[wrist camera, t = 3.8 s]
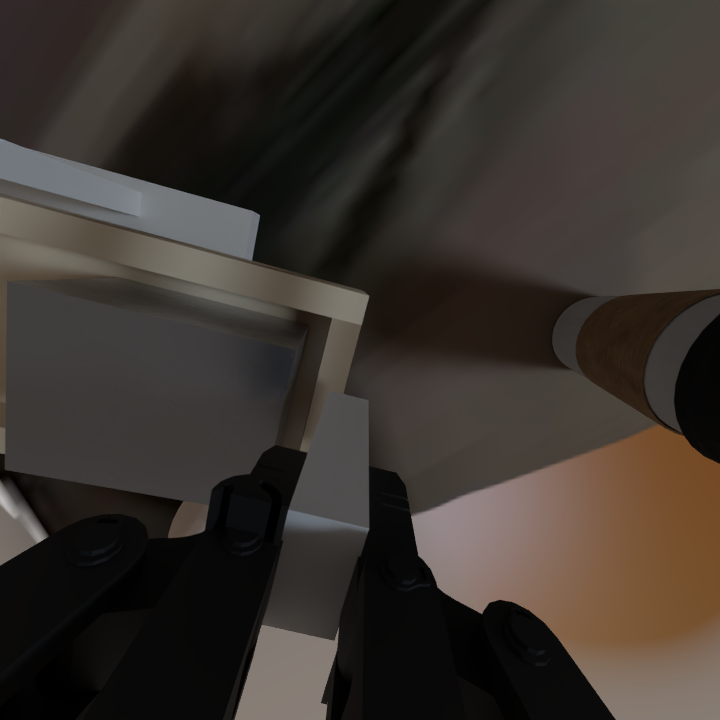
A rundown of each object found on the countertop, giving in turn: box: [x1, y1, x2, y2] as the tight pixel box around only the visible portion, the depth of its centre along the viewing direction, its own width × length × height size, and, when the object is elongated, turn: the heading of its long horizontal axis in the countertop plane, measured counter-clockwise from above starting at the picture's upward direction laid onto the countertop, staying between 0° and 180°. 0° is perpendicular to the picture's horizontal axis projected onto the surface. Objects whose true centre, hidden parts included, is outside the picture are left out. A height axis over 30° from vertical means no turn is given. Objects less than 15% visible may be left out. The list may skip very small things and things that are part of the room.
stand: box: [0, 139, 260, 261], centre depth 19 cm, size 18×16×14 cm
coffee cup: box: [552, 289, 720, 463], centre depth 19 cm, size 8×8×15 cm
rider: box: [5, 278, 309, 505], centre depth 13 cm, size 8×6×5 cm
